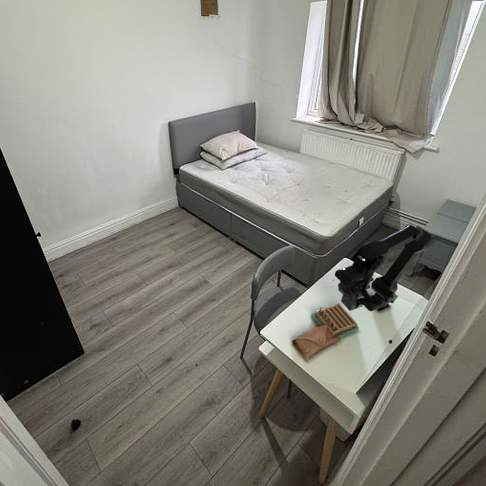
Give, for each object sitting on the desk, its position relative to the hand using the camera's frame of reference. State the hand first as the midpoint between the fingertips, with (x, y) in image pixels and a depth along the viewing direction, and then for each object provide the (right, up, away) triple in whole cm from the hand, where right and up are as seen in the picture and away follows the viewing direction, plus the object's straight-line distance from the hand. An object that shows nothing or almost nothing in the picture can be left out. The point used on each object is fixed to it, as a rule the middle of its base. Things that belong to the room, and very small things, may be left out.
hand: (351, 302), depth 112 cm
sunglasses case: (-14, -15, -1) cm, 21 cm away
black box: (0, -1, +1) cm, 1 cm away
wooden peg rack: (-5, -10, +5) cm, 13 cm away
